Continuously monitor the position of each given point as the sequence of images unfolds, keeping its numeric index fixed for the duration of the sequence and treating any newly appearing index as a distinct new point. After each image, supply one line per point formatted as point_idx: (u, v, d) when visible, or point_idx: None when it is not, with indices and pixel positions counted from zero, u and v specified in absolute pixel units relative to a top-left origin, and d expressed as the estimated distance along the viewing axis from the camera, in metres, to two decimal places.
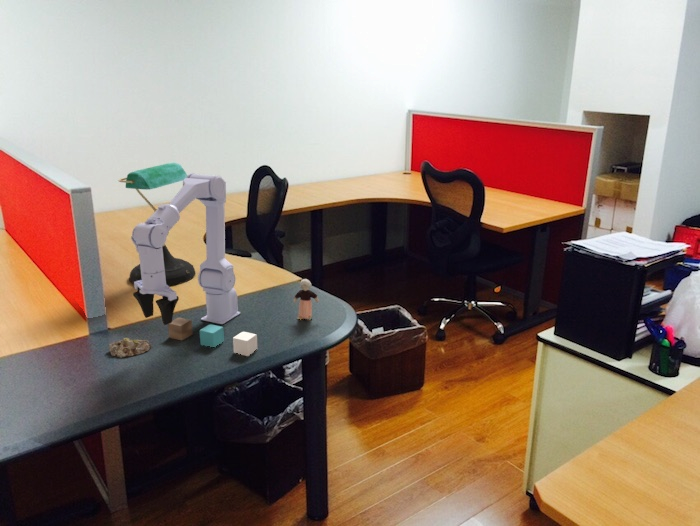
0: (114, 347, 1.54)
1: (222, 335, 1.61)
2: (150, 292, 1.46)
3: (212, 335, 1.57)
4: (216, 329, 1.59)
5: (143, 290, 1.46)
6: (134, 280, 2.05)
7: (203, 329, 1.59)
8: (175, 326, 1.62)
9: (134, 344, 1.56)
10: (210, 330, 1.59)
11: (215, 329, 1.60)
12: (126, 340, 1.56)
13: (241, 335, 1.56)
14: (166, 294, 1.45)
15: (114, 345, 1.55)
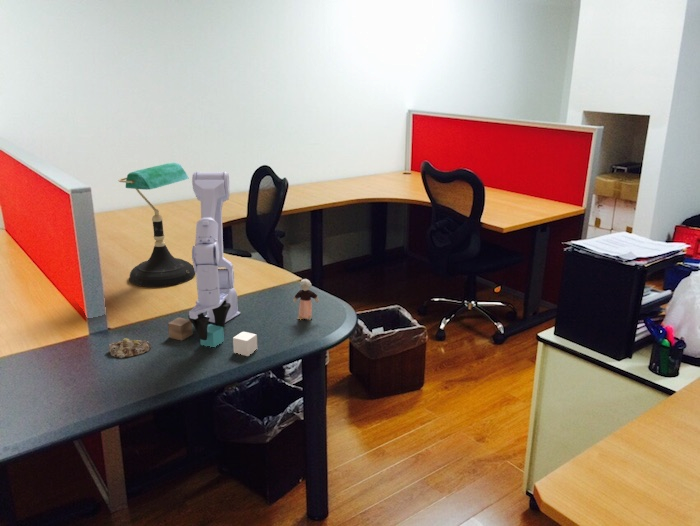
0: (114, 347, 1.54)
1: (222, 335, 1.61)
2: None
3: (212, 335, 1.57)
4: (216, 329, 1.59)
5: None
6: (134, 280, 2.05)
7: None
8: (175, 326, 1.62)
9: (134, 344, 1.56)
10: (210, 330, 1.59)
11: (215, 329, 1.60)
12: (126, 340, 1.56)
13: (241, 335, 1.56)
14: None
15: (114, 345, 1.55)
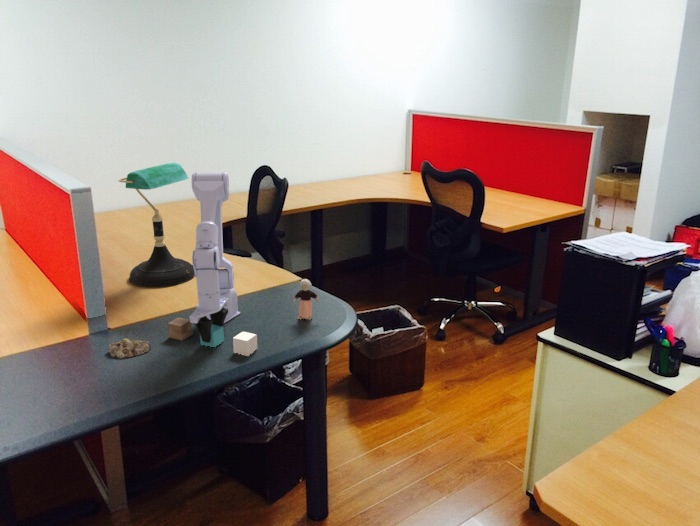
0: (114, 348, 1.54)
1: (222, 335, 1.61)
2: None
3: (212, 334, 1.57)
4: (216, 329, 1.59)
5: None
6: (134, 280, 2.05)
7: None
8: (175, 326, 1.62)
9: (134, 345, 1.55)
10: None
11: (215, 328, 1.60)
12: (126, 341, 1.56)
13: (241, 335, 1.56)
14: None
15: (114, 346, 1.54)
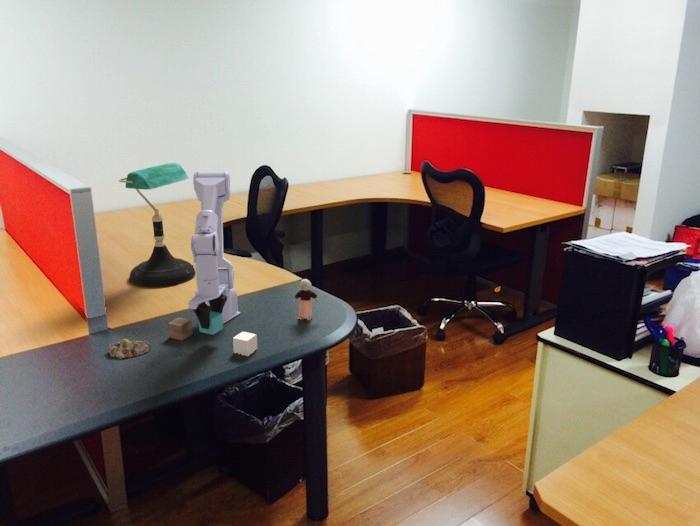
0: (113, 348, 1.54)
1: (221, 321, 1.60)
2: None
3: (211, 321, 1.56)
4: (215, 315, 1.58)
5: (198, 291, 1.58)
6: (134, 280, 2.05)
7: None
8: (175, 326, 1.62)
9: (133, 345, 1.55)
10: None
11: (214, 315, 1.59)
12: (125, 341, 1.55)
13: (241, 335, 1.56)
14: None
15: (113, 346, 1.54)
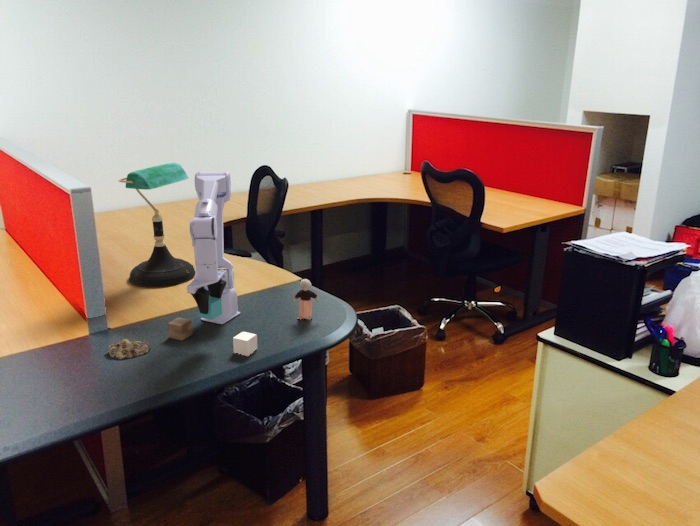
0: (113, 348, 1.54)
1: (220, 307, 1.59)
2: None
3: (209, 306, 1.55)
4: (214, 300, 1.57)
5: None
6: (134, 280, 2.05)
7: None
8: (175, 326, 1.62)
9: (133, 346, 1.55)
10: (208, 301, 1.56)
11: (213, 300, 1.57)
12: (125, 341, 1.55)
13: (241, 335, 1.56)
14: None
15: (113, 346, 1.54)
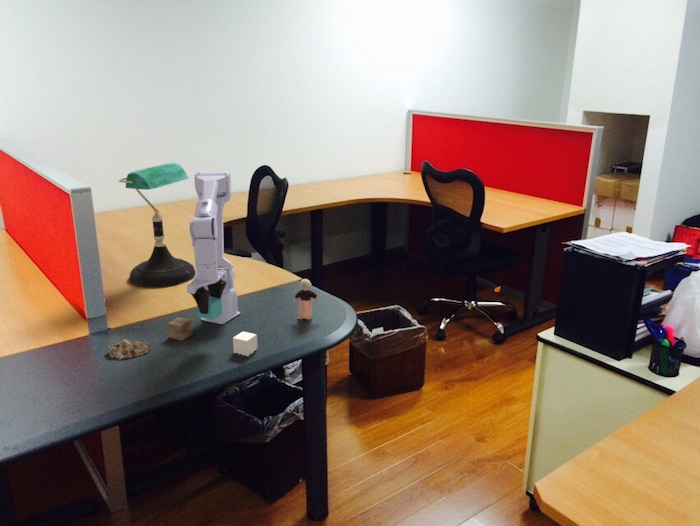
0: (113, 349, 1.53)
1: (220, 307, 1.59)
2: None
3: (209, 306, 1.55)
4: (214, 300, 1.57)
5: None
6: (134, 280, 2.05)
7: None
8: (175, 326, 1.62)
9: (133, 346, 1.55)
10: (208, 301, 1.56)
11: (213, 300, 1.57)
12: (125, 342, 1.55)
13: (241, 335, 1.56)
14: None
15: (113, 347, 1.54)
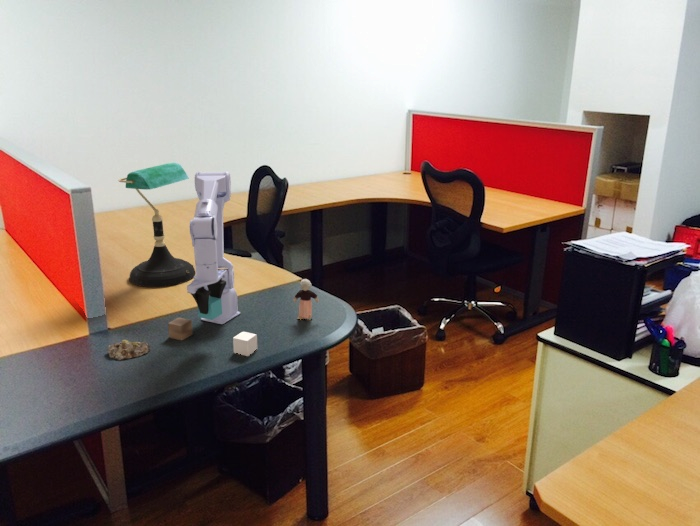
0: (113, 349, 1.53)
1: (220, 307, 1.59)
2: None
3: (209, 306, 1.55)
4: (214, 300, 1.57)
5: None
6: (134, 280, 2.05)
7: None
8: (175, 326, 1.62)
9: (133, 346, 1.54)
10: (208, 301, 1.56)
11: (213, 300, 1.57)
12: (125, 342, 1.55)
13: (241, 335, 1.56)
14: None
15: (113, 347, 1.54)
